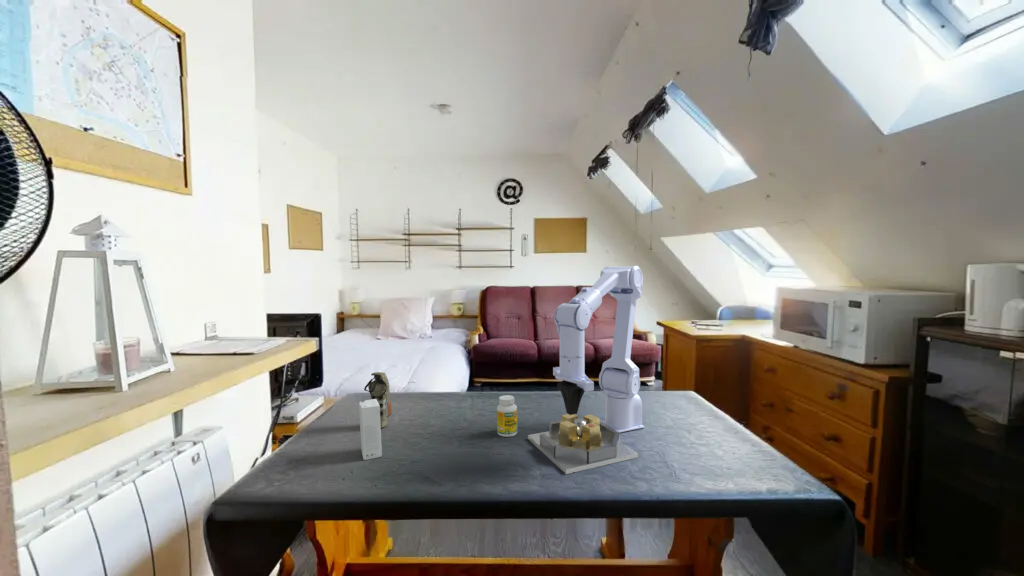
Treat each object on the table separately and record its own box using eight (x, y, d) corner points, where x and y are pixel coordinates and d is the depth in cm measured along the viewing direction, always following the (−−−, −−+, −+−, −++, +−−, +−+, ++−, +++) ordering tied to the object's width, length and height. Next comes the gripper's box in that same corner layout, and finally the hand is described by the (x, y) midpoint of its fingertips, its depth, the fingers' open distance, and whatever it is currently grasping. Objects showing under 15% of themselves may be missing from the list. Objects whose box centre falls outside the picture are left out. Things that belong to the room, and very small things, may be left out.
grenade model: (360, 431, 106) (359, 376, 105) (378, 421, 112) (377, 370, 112) (380, 434, 104) (378, 378, 103) (397, 425, 110) (396, 372, 109)
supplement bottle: (510, 427, 108) (509, 393, 108) (521, 434, 104) (521, 398, 103) (493, 432, 105) (493, 396, 105) (504, 439, 101) (503, 402, 100)
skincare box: (382, 457, 91) (381, 405, 91) (362, 461, 89) (360, 408, 89) (379, 446, 97) (378, 397, 96) (359, 450, 95) (358, 400, 94)
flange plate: (590, 427, 108) (590, 403, 108) (637, 457, 90) (638, 429, 90) (527, 438, 101) (527, 413, 100) (566, 474, 83) (566, 443, 83)
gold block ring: (550, 439, 97) (550, 417, 97) (581, 430, 102) (581, 409, 102) (578, 455, 89) (578, 431, 88) (609, 444, 94) (610, 421, 94)
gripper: (542, 351, 96) (542, 405, 96) (574, 364, 83) (574, 427, 83) (567, 348, 99) (567, 401, 99) (601, 360, 85) (601, 422, 86)
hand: (572, 413), depth 91 cm, fingers closed
